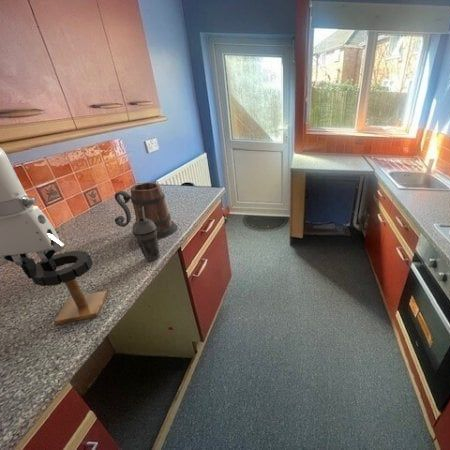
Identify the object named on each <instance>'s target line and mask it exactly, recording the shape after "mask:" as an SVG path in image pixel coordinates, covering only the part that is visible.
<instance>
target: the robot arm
mask: <svg viewBox="0 0 450 450" xmlns="http://www.w3.org/2000/svg"><path fill="white" fill-rule="evenodd" d="M37 204H38V200H37V199H36V198H34V197H33V198H31V197H29V195H28V194H27V193H26V190H25V188H24V187H23V185H22V183H21V181H20V179H19V177H18V175H17V173H16V171H15V169H14V167H13V165H12V163H11V161H10V160H9V157H8V155H7V154H6V152H5V150H4V149H3V148H2V147H0V259H2V260H6V261H9V262H11V263H14V265H16V266H18V267H20V268H21V269H22V271H23V273H24V274H25V275H26V276H27V278H28V279H29V280H32V278H31V277H30V274H29V271H30V269H31V268H32V267H33V266H34V265H35V264H37V262H36V261H35V259H34V258H33V257H29V254H32V253H36V255H37V256H38V258H39V259H40V261H42V262H41V263H40V265H41V267H42V269H44V271H49V272H52V271H57V268H58V267H57V266H56V264H55V262H54V260H53V258H52V256H53V255H56V254H57V253H58V252H60V251H62V250H64V248H65V247H66V244H65V243H64V242H62V241H61V240H60V238H59V235H58V232H57V231H56V230H55V228H54V226H53V224H52V223H51V221H50V219H49V218H48V217H47V215H46V214H45V213H44V212H43V211H42V209H40V208H39V206H38V205H37Z"/></svg>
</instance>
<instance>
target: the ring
mask: <svg viewBox="0 0 450 450" xmlns="http://www.w3.org/2000/svg"><path fill="white" fill-rule="evenodd" d="M52 258H53V260H54V262H55V264H56V266H57V268H59V267H61V266H65V265H69V264H71V265H70V266H68V267H65V269H64V268H62V269H59V270H55V271H52V272H49V271H44V269H42V267H41V265H40V263H41V262H42V261H41V260H40V261H38V262H36V264H35V265H34V266H33V267H32V268H31V269H30V271H29V274H30V277H31V278H32V279H31V280H32V282H33V284H34V285H37V286H41V287H51V286H58V285H61V284H62V283H63V284H65V282H68V281H71V280H73V279H76V280H77V278H80V277H81V276H83V275H84V274H86V273H87V272H88V271H90V270H91V268H92V266H93V265H94V264H93V263H94V262H93V260H92V258H91V256H90V254H89V253H88V252H87V251H83V250H71V251H69V250H68V251H64V253H63V252H60V253H55V254H54V255H53V256H52Z"/></svg>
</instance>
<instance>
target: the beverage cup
mask: <svg viewBox="0 0 450 450" xmlns="http://www.w3.org/2000/svg"><path fill="white" fill-rule="evenodd" d="M142 213H143V219H139V220H137V221H136V220H135V222H134V223H133V225H132V234H133V236H134V238H135V240H136V241H137V243H138V247H139V248H140V250H141V253H142V255H143V258H144V259H145V261H146V262H154V261H157V260H158V259H160V258H161V257H160V249H159V248H160V247H159V242H158V239H157V227H156V225H155V224H154V222H152V221H151V220H149V219H145V214H144V207H142Z"/></svg>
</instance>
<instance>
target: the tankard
mask: <svg viewBox="0 0 450 450" xmlns="http://www.w3.org/2000/svg"><path fill="white" fill-rule="evenodd" d="M120 195H121V196H122V198H121V196H120ZM114 200H115V201H116V202H117V204H118V205H119V207H121V208H122V209H123V211H124V213H125V217H126V220H125V217H124V216H123V215H119V216H117V217H116V218H114V223H115V225H117V226H118V227H120V228H121V227H122V228H124V227H127V226H128V225H129V224H130V223H131V220H132V215H131V211H130V208H129V207H128V205H127V204H128V203H129V202H130V201H131V204H132V207H133V211H134V215H135V222H136V221H137V220H139V219H143V213H142V207H144V214H145V219H149V220H151V221H152V222H154V224H155V225H156V227H157V240H159V239H160V240H161V239H164V238H167V237H169V236H171V235H173V234H174V233H176V232H177V231H178V229H177V226H178V224H177V223H175V222H174V221H173V220H172V216H171V213H170V212H169V208H168V205H167V202H166V195H165V193H164V192H163V190H162V188H161V186H160V184H159V183H156V182H143V183H140V184H135V185H132V186H130V194H129V192H126V191H124V190H120V191H117V192H116V193H115V194H114ZM176 224H177V225H176Z"/></svg>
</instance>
